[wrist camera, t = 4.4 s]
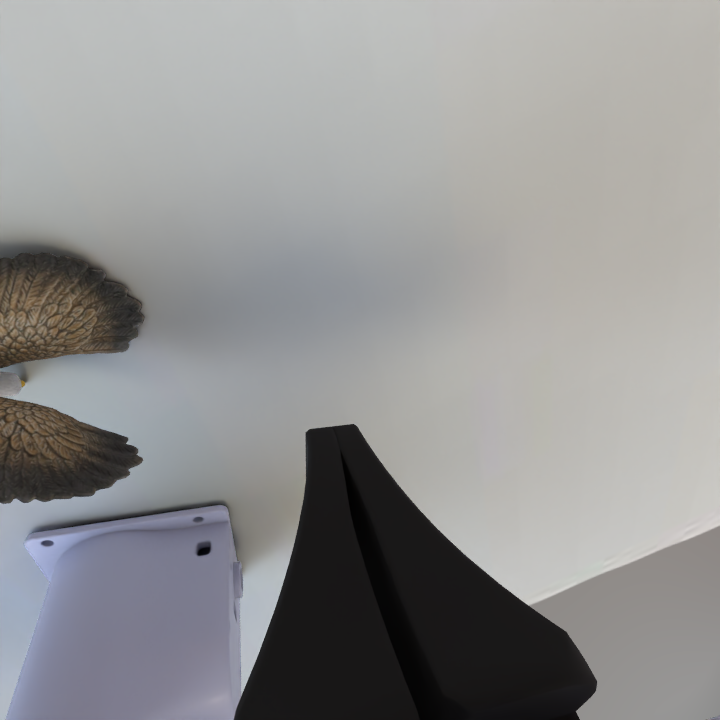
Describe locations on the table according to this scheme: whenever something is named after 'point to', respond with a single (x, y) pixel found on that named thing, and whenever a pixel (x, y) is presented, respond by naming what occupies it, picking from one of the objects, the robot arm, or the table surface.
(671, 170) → the table surface
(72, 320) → the eagle figurine
